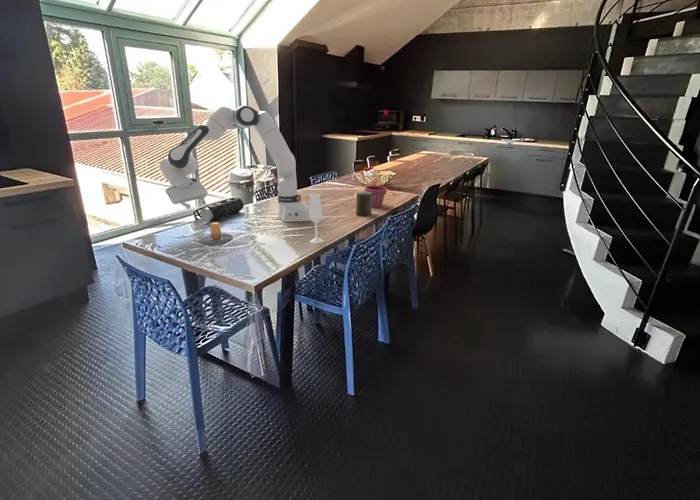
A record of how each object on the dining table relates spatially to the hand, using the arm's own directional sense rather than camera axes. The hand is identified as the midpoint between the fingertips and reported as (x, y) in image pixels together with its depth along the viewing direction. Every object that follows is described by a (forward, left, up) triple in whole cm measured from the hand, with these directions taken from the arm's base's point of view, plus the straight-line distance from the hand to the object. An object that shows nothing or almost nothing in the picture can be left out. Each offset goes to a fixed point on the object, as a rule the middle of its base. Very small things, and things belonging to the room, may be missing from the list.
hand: (196, 206), depth 196 cm
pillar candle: (-83, -50, -16) cm, 98 cm away
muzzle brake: (+2, -33, -16) cm, 37 cm away
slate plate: (-11, +5, -16) cm, 20 cm away
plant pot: (-89, -70, -16) cm, 114 cm away
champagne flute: (-63, +2, -16) cm, 65 cm away
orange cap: (-11, +5, -16) cm, 20 cm away
